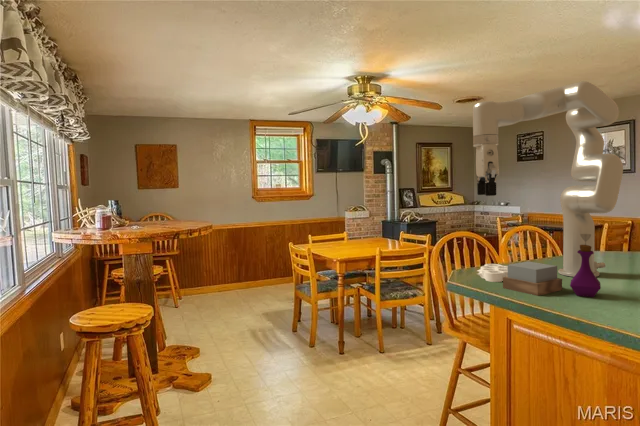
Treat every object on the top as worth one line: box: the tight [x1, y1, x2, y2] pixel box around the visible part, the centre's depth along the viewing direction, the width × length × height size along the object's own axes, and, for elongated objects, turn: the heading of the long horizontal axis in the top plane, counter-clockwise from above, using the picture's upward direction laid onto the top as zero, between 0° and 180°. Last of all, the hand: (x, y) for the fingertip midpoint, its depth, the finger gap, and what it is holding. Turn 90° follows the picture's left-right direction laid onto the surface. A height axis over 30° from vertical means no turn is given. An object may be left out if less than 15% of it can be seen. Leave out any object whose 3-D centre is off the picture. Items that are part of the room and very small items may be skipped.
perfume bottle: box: [569, 234, 602, 298], centre depth 127 cm, size 8×8×18 cm
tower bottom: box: [502, 277, 563, 297], centre depth 137 cm, size 12×12×4 cm
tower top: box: [507, 261, 558, 283], centre depth 137 cm, size 10×10×4 cm
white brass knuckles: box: [476, 263, 508, 283], centre depth 156 cm, size 3×18×15 cm
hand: (486, 195), depth 140 cm, fingers open, 9 cm apart
